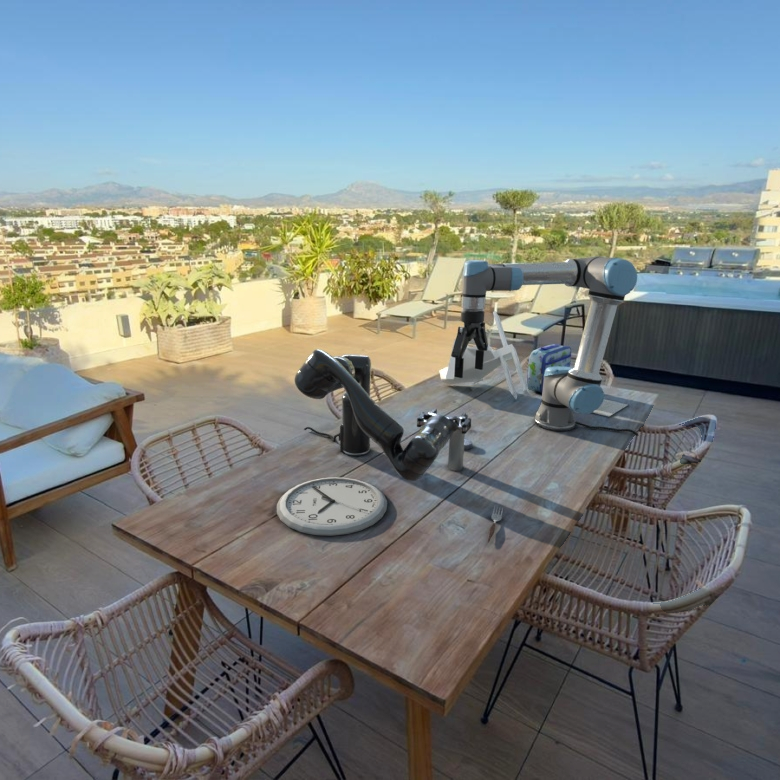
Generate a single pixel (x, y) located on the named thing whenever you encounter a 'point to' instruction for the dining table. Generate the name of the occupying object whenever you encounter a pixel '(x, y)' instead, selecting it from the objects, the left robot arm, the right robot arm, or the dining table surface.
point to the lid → (467, 444)
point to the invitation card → (609, 408)
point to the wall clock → (331, 506)
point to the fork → (494, 518)
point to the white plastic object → (486, 364)
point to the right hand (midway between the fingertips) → (468, 373)
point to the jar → (456, 450)
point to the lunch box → (546, 363)
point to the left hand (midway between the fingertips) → (450, 414)
